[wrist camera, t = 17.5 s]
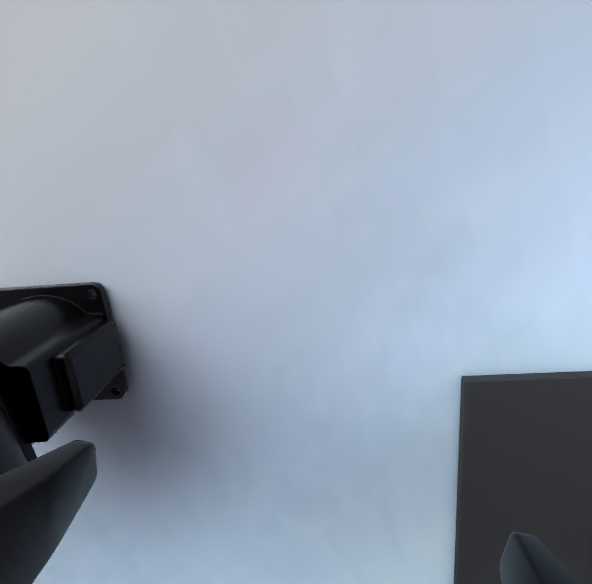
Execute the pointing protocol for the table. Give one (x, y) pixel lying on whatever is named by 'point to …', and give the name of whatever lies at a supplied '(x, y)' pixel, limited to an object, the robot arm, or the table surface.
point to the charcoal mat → (524, 470)
